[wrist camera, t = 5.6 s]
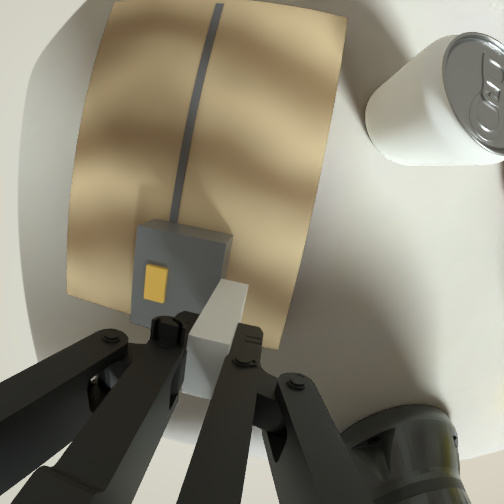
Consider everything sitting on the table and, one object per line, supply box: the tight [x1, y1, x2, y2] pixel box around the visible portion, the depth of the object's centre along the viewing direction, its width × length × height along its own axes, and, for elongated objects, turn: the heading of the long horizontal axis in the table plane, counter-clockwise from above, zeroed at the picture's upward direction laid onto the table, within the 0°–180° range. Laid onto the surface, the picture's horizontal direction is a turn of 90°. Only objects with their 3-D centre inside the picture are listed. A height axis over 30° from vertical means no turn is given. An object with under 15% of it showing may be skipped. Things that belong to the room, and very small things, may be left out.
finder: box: [130, 219, 233, 329], centre depth 19 cm, size 6×5×3 cm
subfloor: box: [67, 0, 348, 350], centre depth 21 cm, size 23×16×5 cm
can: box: [365, 32, 504, 166], centre depth 15 cm, size 6×6×12 cm
